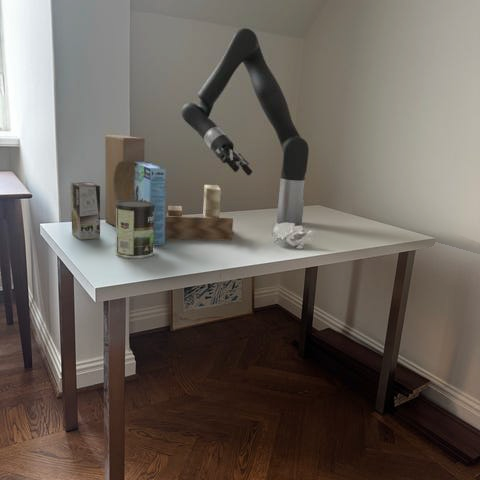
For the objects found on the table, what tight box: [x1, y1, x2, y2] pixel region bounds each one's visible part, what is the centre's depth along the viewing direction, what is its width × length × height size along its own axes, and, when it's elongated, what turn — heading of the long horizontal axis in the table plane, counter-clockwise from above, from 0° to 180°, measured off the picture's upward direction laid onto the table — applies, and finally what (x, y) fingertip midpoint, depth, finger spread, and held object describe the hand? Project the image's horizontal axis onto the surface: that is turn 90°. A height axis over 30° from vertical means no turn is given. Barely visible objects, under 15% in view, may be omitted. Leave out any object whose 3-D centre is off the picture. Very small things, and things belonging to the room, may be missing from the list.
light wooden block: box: [202, 184, 222, 218], centre depth 155 cm, size 4×10×16 cm, turn 8°
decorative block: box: [104, 134, 146, 228], centre depth 157 cm, size 15×8×30 cm, turn 37°
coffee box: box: [70, 181, 101, 241], centre depth 142 cm, size 9×6×16 cm
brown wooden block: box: [165, 215, 234, 241], centre depth 155 cm, size 23×14×7 cm, turn 98°
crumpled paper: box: [271, 222, 314, 250], centre depth 150 cm, size 12×7×12 cm
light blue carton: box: [134, 161, 167, 246], centre depth 144 cm, size 20×5×23 cm, turn 25°
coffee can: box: [115, 200, 155, 259], centre depth 128 cm, size 10×10×14 cm
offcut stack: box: [166, 205, 183, 216], centre depth 154 cm, size 5×10×9 cm, turn 8°
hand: (244, 172), depth 164 cm, fingers open, 8 cm apart
